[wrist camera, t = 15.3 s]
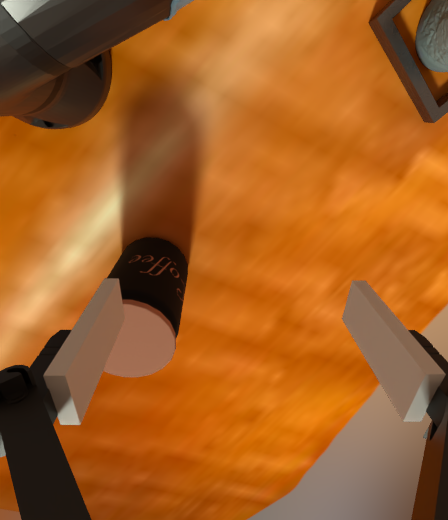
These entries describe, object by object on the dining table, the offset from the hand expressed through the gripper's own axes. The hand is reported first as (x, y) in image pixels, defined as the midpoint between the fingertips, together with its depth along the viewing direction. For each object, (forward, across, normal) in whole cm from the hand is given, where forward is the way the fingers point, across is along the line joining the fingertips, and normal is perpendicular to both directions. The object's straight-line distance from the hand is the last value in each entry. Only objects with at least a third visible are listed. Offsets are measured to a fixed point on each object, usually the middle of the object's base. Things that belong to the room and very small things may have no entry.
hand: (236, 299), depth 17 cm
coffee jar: (+29, -11, -13) cm, 34 cm away
